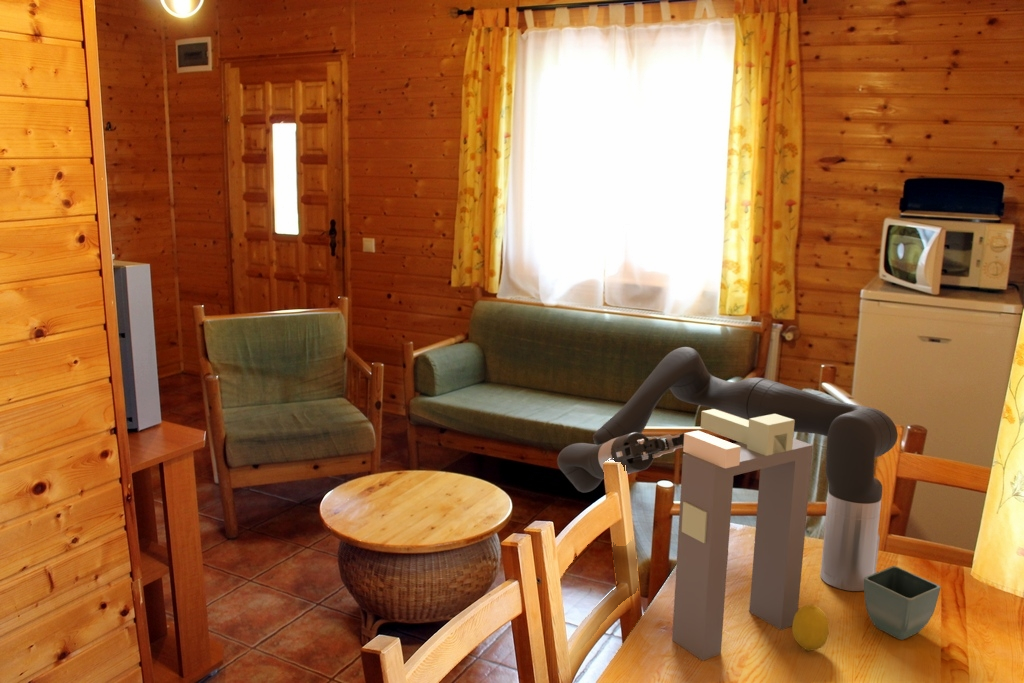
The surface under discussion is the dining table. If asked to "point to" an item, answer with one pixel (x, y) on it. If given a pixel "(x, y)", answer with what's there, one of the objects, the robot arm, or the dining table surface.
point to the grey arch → (709, 541)
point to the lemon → (810, 627)
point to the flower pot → (899, 601)
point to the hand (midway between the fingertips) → (677, 439)
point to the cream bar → (712, 449)
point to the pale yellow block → (752, 430)
